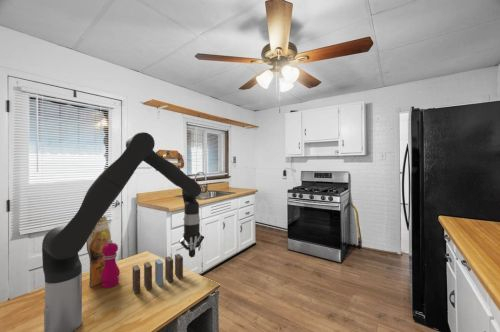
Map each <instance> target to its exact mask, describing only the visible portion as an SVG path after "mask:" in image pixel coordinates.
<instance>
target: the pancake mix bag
mask: <svg viewBox="0 0 500 332" xmlns="http://www.w3.org/2000/svg"><path fill="white" fill-rule="evenodd" d="M111 236H112V235H111V230H110V226H109V222H108V219H107V216H106V215H103V216H102V217H101V219H100V220H99V221H98V223H97V225H96V226H95V228H94V229H93V231H92V233H91V234H90V236H89V238H88V240H87V241H86V243H85V244H86V251H87V254H88V257H89V282H88V283H89V284H88V285H89V287H90V288H93V287H96V286H98V285H101V284H102V281H103V280H101V273H102V270H103V268H104V266H105V259H104V254H103V253H102V249H103V247H104V246H105V245H106V244H108V241H109V240H112V237H111Z"/></svg>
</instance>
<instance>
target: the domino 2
mask: <svg viewBox="0 0 500 332" xmlns="http://www.w3.org/2000/svg"><path fill="white" fill-rule="evenodd" d="M143 266H144V267H143V282H144V283H143V285H144V288H145V290H146V291H150V290H152V289H153V265H152V264H151V263H150V261H148V262H143Z"/></svg>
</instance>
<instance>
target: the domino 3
mask: <svg viewBox="0 0 500 332" xmlns="http://www.w3.org/2000/svg"><path fill="white" fill-rule="evenodd" d="M154 261H155V262H154V281H155V283H156V285H157V286H158V287H162V286H163V285H164V262H163V261H162V260H161V259H160V258H158V259H155V260H154Z"/></svg>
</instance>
